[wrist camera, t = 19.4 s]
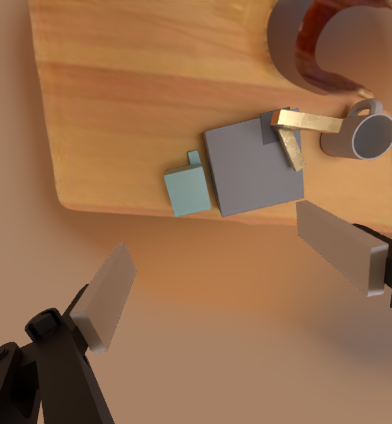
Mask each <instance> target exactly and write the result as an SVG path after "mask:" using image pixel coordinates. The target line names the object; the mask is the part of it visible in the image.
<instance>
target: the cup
mask: <svg viewBox="0 0 392 424" xmlns="http://www.w3.org/2000/svg"><path fill="white" fill-rule="evenodd" d="M364 109H370V112H369V115H363V116H357V115H358V114H359V112H361V111H362V110H364ZM382 109H383V106H382V103H381V102H380V101H379V100H377V99H372V98H371V99H367V100H363V101H360V102H358V103H357V104H355V105H354V106H353V107H352V108H351V109H350V111H349V112H348V114H347V116H346V118H342V119H343V121H342V124H341V128H340V131H339V133H322V135H321V147H322V149H323V151H324V152H325V153H326V154H327V155H330V156H334V157H343V158H352V159H360V160H373V159H376V158H378V157H380V156H382V155H383V154H384V153H386V152H387V151H388V149H389V148H390V147H391V145H392V118H391V117H390V116H389V115H387V114H384V113H382Z"/></svg>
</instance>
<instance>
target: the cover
mask: <svg viewBox="0 0 392 424" xmlns="http://www.w3.org/2000/svg"><path fill="white" fill-rule="evenodd" d="M188 156H189V160H190V165H186V166H182V167H178V168H174V169H169V170H167V171H166V172H165V174H164V179H165V183H166V187H167V190H168V194H169V197H170V201H171V204H172V208H173V212H174V215H175V217H179V216H183V215H187V214H192V213H196V212H201V211H205V210H209V209H211V204H210V199H209V195H208V190H207V185H206V181H205V176H204V171H203V167H202V165H201V163H200V159H199V154H198V150H195V151H191V152H188Z"/></svg>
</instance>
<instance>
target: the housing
mask: <svg viewBox="0 0 392 424" xmlns="http://www.w3.org/2000/svg"><path fill="white" fill-rule="evenodd" d="M279 110H288V111H294V112H299V108H296V109H292V110H290V107H287V108H283V109H279ZM275 111H278V110H275ZM275 111H271V112H267V113H263V114H260V118H257V119H253V120H249V121H245V122H241V123H237V124H233V125H229V126H225V127H221V128H217V129H213V130H209V131H205V132H203V138H204V143H205V148H206V152H207V157H208V162H209V166H210V171H211V176H212V181H213V185H214V190H215V195H216V199H217V204H218V208H219V210H220V213H221V215H222V217H226V216H230V215H235V214H239V213H243V212H247V211H251V210H256V209H260V208H264V207H268V206H273V205H277V204H281V203H285V202H289V201H294V200H298V199H302V198H304V188H303V172H302V169H301V170H299V171H297V172H295V171H294V170H293V168H292V166H291V163H290V161H289V159H288V157H287V154H286V152H285V150H284V147H283V145H282V143H281V140H280V138H279V136H278V133H277V132H274V131H273V130H272V125H270V124H271V120H272V116H273V112H275ZM292 132H293V134H294V137H295V139H296V142H297V144H298V147H299V149H300V152H301V139H300V130H295V131H292Z"/></svg>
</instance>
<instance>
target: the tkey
mask: <svg viewBox="0 0 392 424" xmlns="http://www.w3.org/2000/svg"><path fill="white" fill-rule="evenodd" d="M342 121H343V119H339V118H333V117H326V116H320V115H313V114H307V113H301V112H294V111H288V110H278V111H275V112H273V116H272V120H271V124H270V125H272V130H273V131H274V132H277V133H278V136H279V138H280V140H281V143H282V145H283V147H284V150H285V152H286V154H287V157H288V159H289V161H290V163H291V166H292V168H293V170H294V171H295V172H297V171H299V170H301V169H302V168H304V167H306V164H305V161H304V159H303V156H302V154H301V152H300V149H299V147H298V144H297V142H296V139H295V137H294V134H293V132H292V131H295V130H307V131H314V132H320V133H339V131H340V128H341V124H342Z"/></svg>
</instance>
